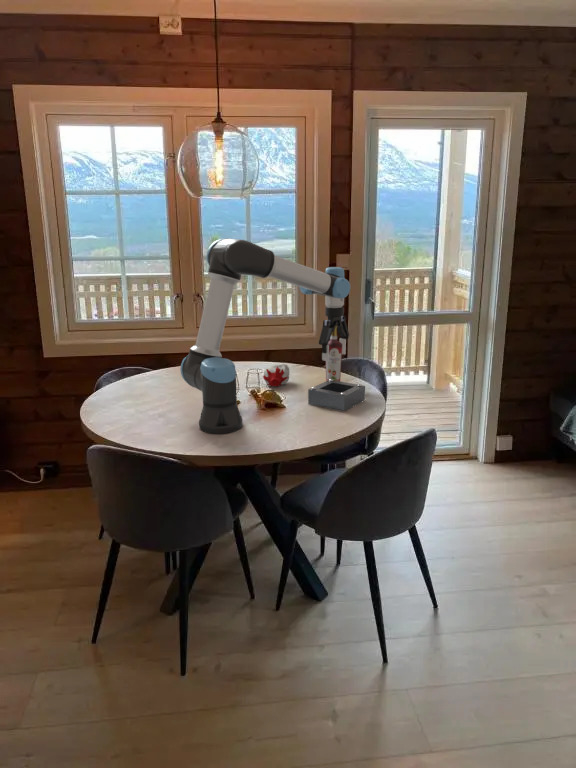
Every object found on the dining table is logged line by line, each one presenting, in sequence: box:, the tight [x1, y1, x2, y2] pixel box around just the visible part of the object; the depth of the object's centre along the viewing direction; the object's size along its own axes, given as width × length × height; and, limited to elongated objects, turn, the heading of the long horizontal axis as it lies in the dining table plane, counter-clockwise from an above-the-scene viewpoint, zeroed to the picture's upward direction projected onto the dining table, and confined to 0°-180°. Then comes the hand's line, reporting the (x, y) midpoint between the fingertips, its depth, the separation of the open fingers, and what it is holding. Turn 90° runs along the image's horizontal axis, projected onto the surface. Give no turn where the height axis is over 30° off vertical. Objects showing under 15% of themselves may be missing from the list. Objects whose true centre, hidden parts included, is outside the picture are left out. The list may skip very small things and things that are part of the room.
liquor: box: [324, 326, 343, 382], centre depth 243 cm, size 7×7×28 cm
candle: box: [262, 363, 290, 388], centre depth 249 cm, size 9×11×15 cm
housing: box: [307, 379, 366, 412], centre depth 227 cm, size 16×16×7 cm
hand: (334, 357), depth 243 cm, fingers open, 13 cm apart
